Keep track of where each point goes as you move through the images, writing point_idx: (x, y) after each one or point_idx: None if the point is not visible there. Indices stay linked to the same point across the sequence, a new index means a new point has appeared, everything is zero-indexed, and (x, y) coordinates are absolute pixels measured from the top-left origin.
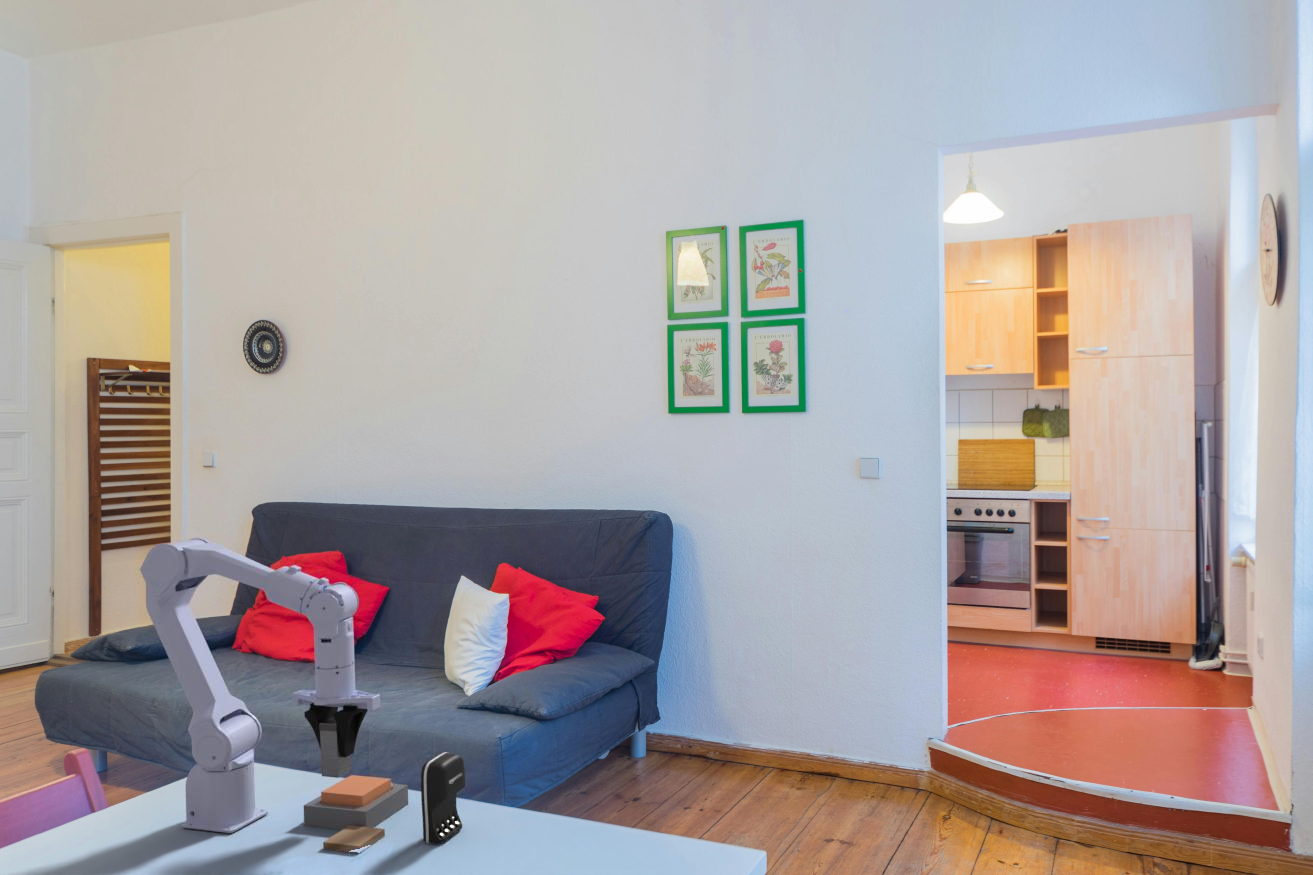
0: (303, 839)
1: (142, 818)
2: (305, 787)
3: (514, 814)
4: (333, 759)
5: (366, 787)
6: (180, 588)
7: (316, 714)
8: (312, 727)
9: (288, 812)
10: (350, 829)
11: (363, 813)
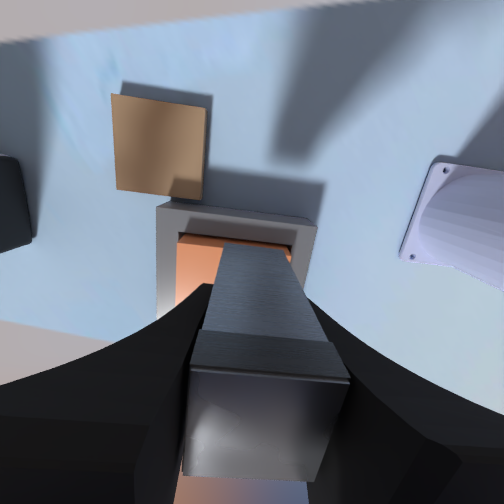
0: (274, 155)
1: None
2: None
3: None
4: (238, 263)
5: None
6: None
7: (419, 455)
8: (394, 363)
9: (362, 267)
10: (186, 180)
11: (163, 206)
